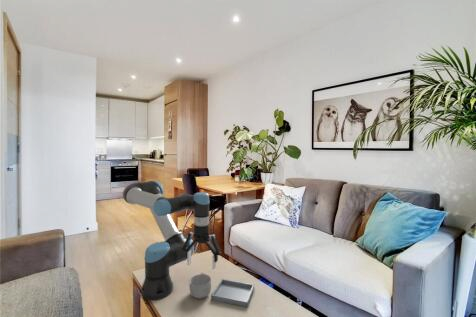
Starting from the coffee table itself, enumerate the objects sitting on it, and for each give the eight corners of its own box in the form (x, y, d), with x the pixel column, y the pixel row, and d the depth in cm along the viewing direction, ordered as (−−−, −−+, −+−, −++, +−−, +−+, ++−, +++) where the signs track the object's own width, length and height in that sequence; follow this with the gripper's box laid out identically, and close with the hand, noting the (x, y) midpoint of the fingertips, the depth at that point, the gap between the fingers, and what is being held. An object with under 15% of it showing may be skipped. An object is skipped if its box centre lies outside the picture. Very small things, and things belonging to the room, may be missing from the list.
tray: (211, 300, 115) (211, 295, 115) (221, 283, 130) (221, 278, 130) (247, 307, 110) (247, 302, 110) (254, 289, 125) (254, 284, 125)
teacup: (207, 303, 113) (207, 286, 113) (185, 300, 115) (185, 283, 115) (215, 286, 127) (215, 271, 126) (196, 283, 129) (196, 269, 129)
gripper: (175, 224, 119) (175, 265, 120) (222, 229, 112) (222, 273, 113) (182, 219, 126) (183, 259, 127) (227, 224, 119) (227, 265, 120)
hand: (201, 266), depth 120 cm, fingers open, 13 cm apart
